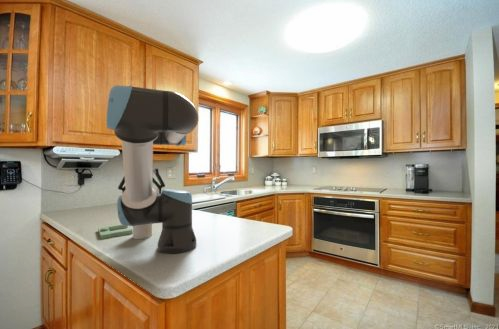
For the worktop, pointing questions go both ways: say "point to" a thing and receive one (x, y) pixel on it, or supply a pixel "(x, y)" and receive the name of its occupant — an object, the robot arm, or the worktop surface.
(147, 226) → the cup
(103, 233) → the deck
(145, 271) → the worktop surface
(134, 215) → the robot arm
